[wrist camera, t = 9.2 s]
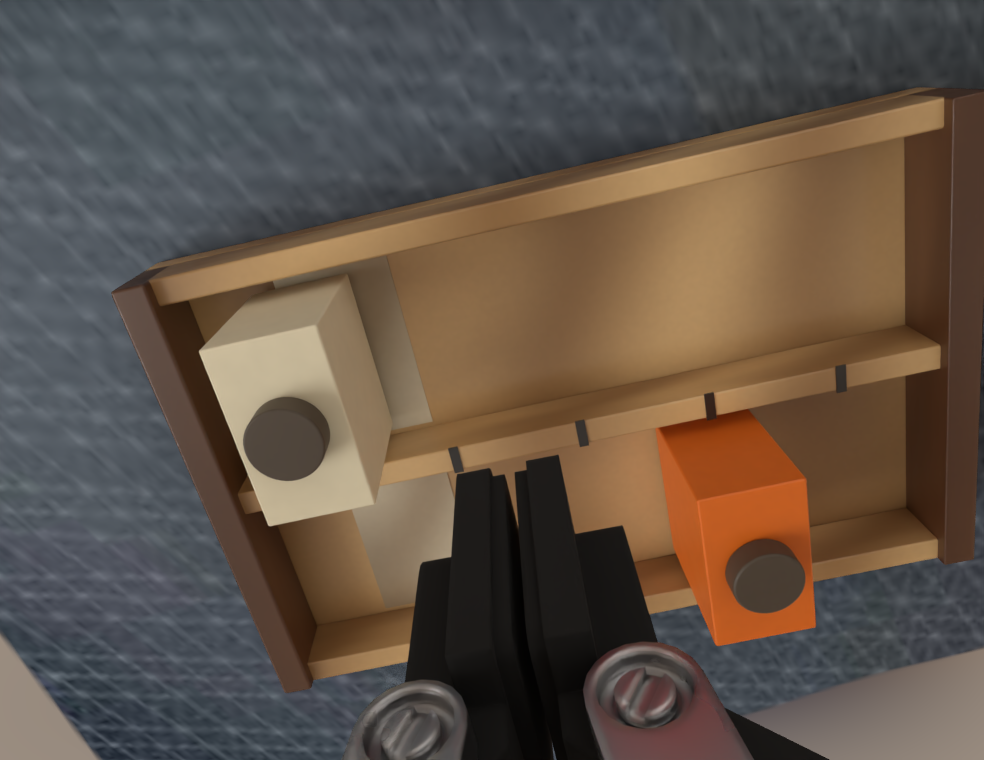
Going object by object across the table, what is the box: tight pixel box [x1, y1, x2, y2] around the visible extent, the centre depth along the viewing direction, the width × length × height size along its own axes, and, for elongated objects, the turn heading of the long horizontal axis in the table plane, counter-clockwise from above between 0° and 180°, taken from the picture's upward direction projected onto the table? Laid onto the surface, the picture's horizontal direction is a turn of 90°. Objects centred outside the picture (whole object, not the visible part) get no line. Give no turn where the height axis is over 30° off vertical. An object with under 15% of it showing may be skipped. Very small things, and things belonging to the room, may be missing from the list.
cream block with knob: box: [199, 274, 393, 526], centre depth 21 cm, size 3×5×6 cm, turn 12°
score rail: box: [112, 87, 984, 693], centre depth 24 cm, size 24×15×3 cm, turn 103°
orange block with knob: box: [655, 409, 816, 646], centre depth 23 cm, size 3×5×6 cm, turn 13°
